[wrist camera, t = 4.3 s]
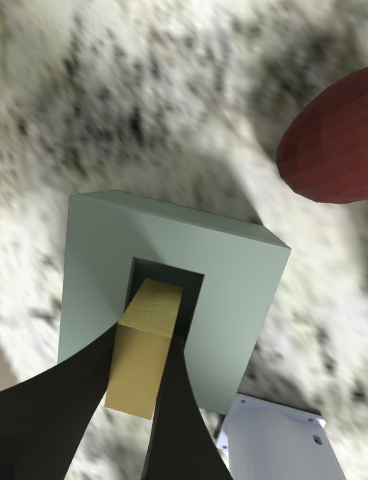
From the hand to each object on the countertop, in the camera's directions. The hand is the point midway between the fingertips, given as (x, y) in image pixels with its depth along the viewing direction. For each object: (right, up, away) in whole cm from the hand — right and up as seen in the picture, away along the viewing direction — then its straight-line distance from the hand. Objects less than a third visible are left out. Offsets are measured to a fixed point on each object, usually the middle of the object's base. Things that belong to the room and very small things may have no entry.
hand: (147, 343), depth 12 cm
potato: (+13, +12, +5) cm, 18 cm away
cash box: (+1, +2, +8) cm, 9 cm away
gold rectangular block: (0, +1, +2) cm, 2 cm away
